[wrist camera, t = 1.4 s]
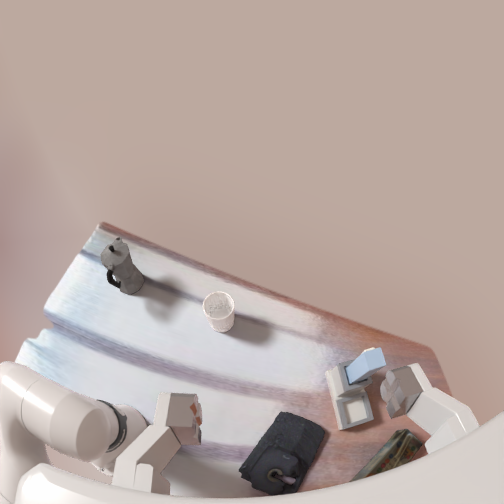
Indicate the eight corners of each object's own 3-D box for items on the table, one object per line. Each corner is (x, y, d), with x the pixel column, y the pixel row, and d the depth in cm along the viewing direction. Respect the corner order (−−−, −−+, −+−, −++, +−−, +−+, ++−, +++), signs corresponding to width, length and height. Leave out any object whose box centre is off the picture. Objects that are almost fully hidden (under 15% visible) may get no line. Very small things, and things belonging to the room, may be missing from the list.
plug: (363, 380, 57) (386, 365, 47) (348, 384, 57) (369, 370, 46) (358, 363, 60) (379, 344, 50) (343, 367, 59) (362, 349, 49)
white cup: (235, 308, 79) (233, 290, 71) (236, 334, 74) (234, 318, 66) (208, 309, 79) (203, 292, 71) (207, 335, 74) (202, 319, 66)
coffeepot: (122, 266, 88) (102, 230, 74) (147, 265, 88) (130, 227, 74) (114, 306, 78) (88, 273, 64) (141, 306, 79) (119, 272, 65)
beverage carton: (413, 445, 51) (425, 443, 46) (366, 497, 43) (376, 501, 38) (396, 429, 55) (408, 427, 50) (347, 482, 47) (356, 485, 42)
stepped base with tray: (368, 420, 57) (384, 416, 49) (339, 430, 56) (352, 427, 49) (353, 365, 67) (366, 354, 60) (325, 372, 67) (335, 362, 59)
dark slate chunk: (332, 432, 57) (338, 431, 53) (288, 501, 45) (290, 505, 41) (280, 406, 62) (282, 404, 58) (233, 475, 50) (232, 478, 46)
